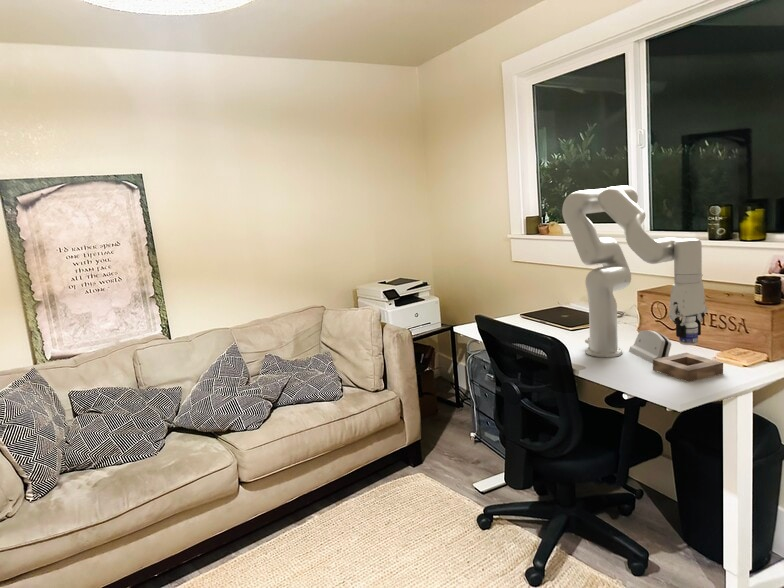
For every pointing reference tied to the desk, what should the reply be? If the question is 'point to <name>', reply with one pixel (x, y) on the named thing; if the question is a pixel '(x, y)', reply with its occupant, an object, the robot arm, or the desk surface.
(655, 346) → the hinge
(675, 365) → the socket block
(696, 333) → the pill bottle
